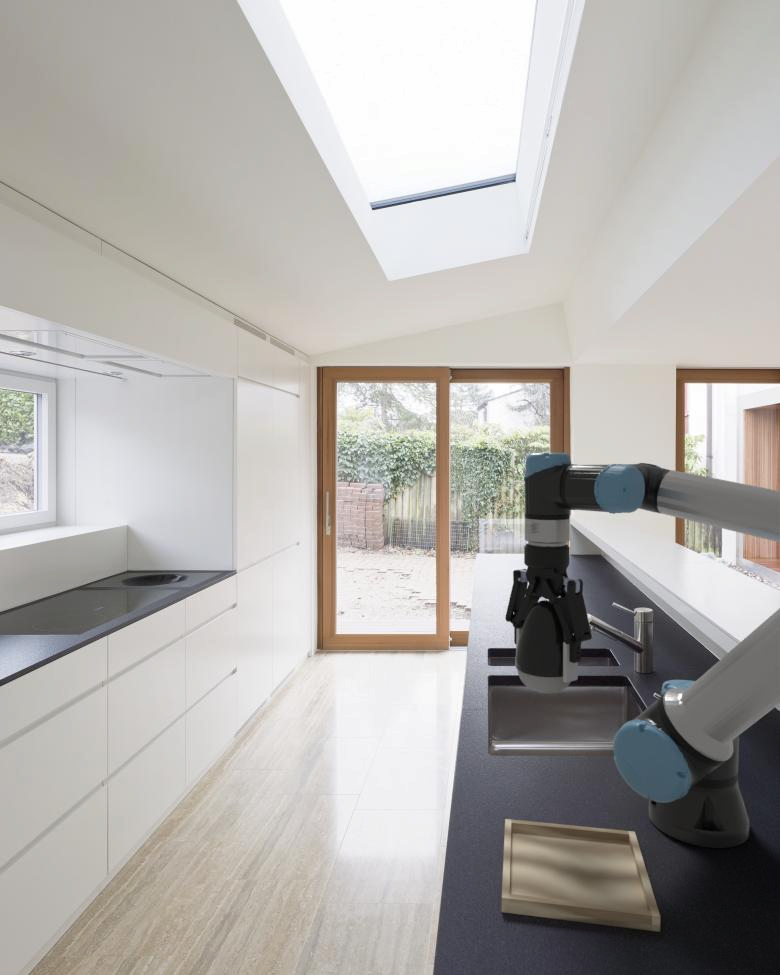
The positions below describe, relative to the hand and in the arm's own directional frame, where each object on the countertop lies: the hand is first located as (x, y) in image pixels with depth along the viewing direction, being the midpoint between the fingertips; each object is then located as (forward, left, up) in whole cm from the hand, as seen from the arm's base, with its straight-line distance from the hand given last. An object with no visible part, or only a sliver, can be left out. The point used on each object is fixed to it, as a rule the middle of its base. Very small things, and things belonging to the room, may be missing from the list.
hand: (545, 671), depth 117 cm
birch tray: (+11, +16, -24) cm, 31 cm away
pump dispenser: (0, 0, -3) cm, 3 cm away
